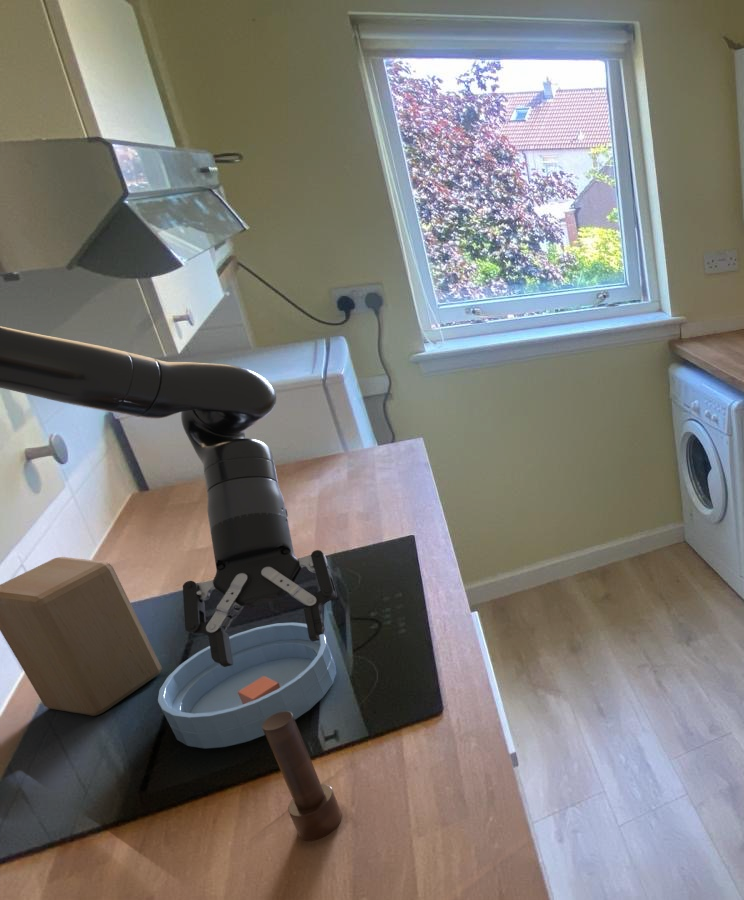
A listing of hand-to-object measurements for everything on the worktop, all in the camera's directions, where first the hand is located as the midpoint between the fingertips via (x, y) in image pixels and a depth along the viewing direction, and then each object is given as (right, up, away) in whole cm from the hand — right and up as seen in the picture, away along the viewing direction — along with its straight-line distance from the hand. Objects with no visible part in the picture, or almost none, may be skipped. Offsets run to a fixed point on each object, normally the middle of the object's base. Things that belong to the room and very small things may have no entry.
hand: (272, 652), depth 84 cm
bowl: (-17, -13, +21) cm, 30 cm away
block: (-14, -13, +19) cm, 27 cm away
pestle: (+4, -21, +2) cm, 21 cm away
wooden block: (-41, -12, +24) cm, 49 cm away
